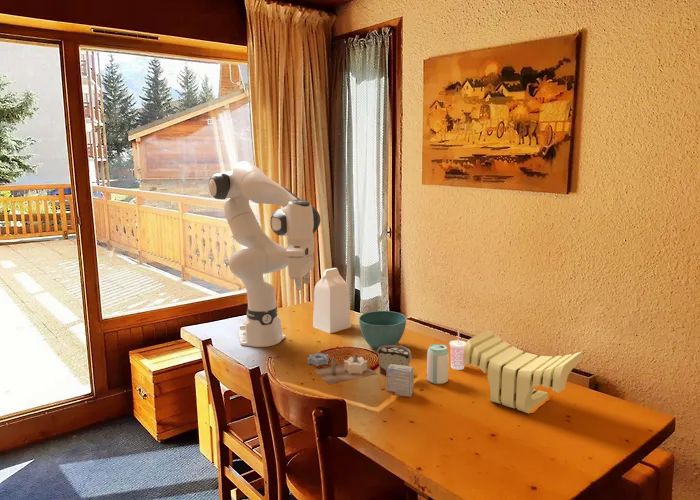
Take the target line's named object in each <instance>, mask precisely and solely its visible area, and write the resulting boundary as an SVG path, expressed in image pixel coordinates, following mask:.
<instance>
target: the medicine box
mask: <svg viewBox="0 0 700 500" xmlns="http://www.w3.org/2000/svg"><path fill="white" fill-rule="evenodd" d="M386 370H387V375H386V391H387V392H393V393H392V394H391V395H393V396H400V397H407V398H408V397H409V398H412V394H413V393H414V367H413V366H412V365H411V366H410V365H409V366H403V365H394V364H390V365H389V367H388V368H387V369H386Z"/></svg>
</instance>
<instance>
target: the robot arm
mask: <svg viewBox="0 0 700 500" xmlns="http://www.w3.org/2000/svg"><path fill="white" fill-rule="evenodd" d="M208 189H209V193H210V195H211V196H212V197H213V198H214V199H215V200H225V201H224V203H223V211H224V214H225V215H224V216H225V218H226V222H227V224H228V226H229V228H230V230H231V233H232V235H233V237H234V240H235V241H236V242H237V243H238V244H239V245H241V246H244V247H245V248H242V249H240V250H237V251H235V252H233V253H232V254H231V255H230V257H229V260H228V266H229V269H230V272H231V273H232V274H233V275H234V276H235V277H236V278H238V279H239V280H241V281H242V283H243V285H244V287H245V290H246V296H247V309H246V317H245V319H244V320H243V322H242V324H239V331H238V333H237V335H238V340H239V343H240V344H239V345H240V346H248V347H253V348H266V347H271V346H275V345H278V344H280V342H282V341H283V340H284V339H286V334H284V333H283V328H282V320H281V318H280V317H279V316H278V307H277V301H276V300H277V299H276V288H274V286H273V285H272V284H271V283H268V282H266V281H265V279H264V275H265V274H271V273H275V272H278V271H279V272H280V270H283V269H286V268H287V267H288V277H289V279H290V280H294V283H295V289H296V290H297V291H302V290H303V284H304V285H308V284H309V283H310V276H311V270H313V269H314V267H315V259H314V253H315V251H316V250H315V236H314V233H316V232H317V230H318V229H319V227H320V226H321V215H320V213H319V212H318V210H317V208H315V207H314V206H312V205H311V202H310V201H308V200H305V199H301V198H299V197H298V196H297V195H295V194H294V193H293V192H292V191H291V190H289V189H288V188H287V187H285V186H283V185H282V184H279V183H277V182H276V181H274V180H273V179H271V178H270V177H269V176H267V175H266V174H265V173H264V171H262V170H261V169H260V168H259V167H258V166H257V165H255V164H254V163H252V162H249V161H247V160H246V161H245V160H244V161H240V162H238V163H237V164H235V166H234V167H233V169H232V170H230V171H224V172H216V173H215V174H212V175H211V177H210V178H209V181H208ZM250 201H251V202H252V203H255V204H263V205H264V204H268V205H277V206H281V208H279V209H275V211H273V213H272V214H271V216H270V220H269V221H270V227H271V230H272V231H273V233H274V234H275V235H277V236H281V237H285V236H288V244H287V245H288V246H287V247H286V246H284V245H283V244H279V243H278V242H276V241H274V240H273V239H272V238H270V237H269V236H268V235H267V234H266V233H265V232H264V230H263V228H262V227H261V225H260V224H259V223H260V222H259V221H258V219H257V218H256V217H257V216H255V213H254V211H253V209H252V208H251V205H250ZM246 247H247V248H246ZM302 278H303V279H302ZM241 281H240V282H241ZM302 281H303V283H302Z"/></svg>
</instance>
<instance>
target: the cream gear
mask: <svg viewBox="0 0 700 500" xmlns="http://www.w3.org/2000/svg"><path fill="white" fill-rule="evenodd" d="M343 364H344V370H347V371H348V373H349V374H351V373H359V374H362V372H363V371H365V370H367V367H368V360H365V359H364V357H362V356H360V357H358V362H354V356H353V357H352V356H349V357H348V359H346V360H345V359H344V361H343Z"/></svg>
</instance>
